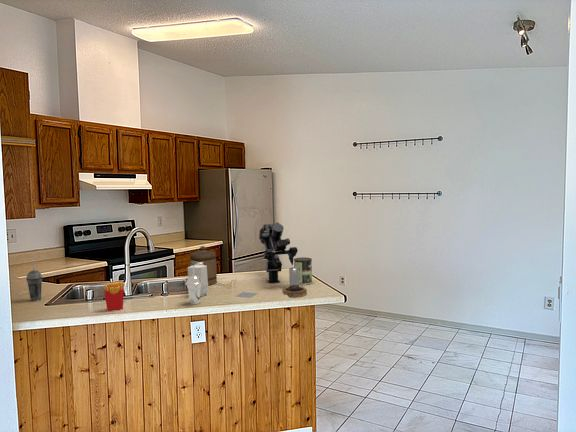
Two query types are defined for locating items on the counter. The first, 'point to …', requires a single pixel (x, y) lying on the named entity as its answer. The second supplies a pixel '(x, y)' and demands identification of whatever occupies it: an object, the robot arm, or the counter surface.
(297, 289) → the sleeve
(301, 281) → the coffee can
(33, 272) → the beverage cup
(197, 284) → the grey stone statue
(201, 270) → the skincare box
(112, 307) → the french fries
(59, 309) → the counter surface
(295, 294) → the brown shallow round dish
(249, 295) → the stand
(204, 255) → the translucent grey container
